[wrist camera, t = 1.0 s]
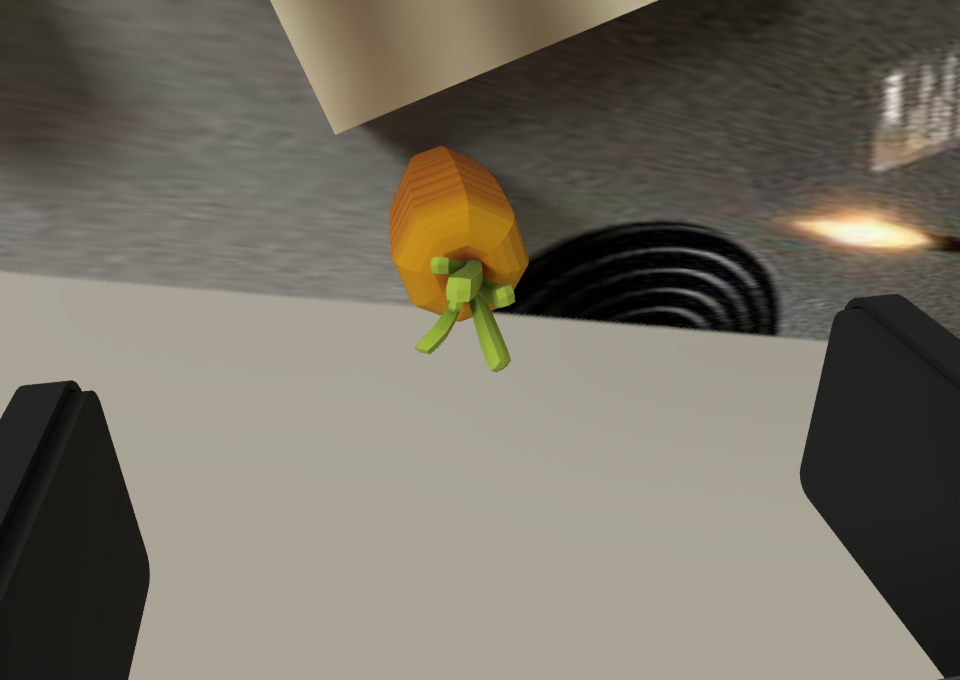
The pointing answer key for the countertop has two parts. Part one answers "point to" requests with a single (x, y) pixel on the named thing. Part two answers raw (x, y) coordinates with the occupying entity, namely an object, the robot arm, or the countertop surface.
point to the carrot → (456, 247)
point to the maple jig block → (421, 44)
